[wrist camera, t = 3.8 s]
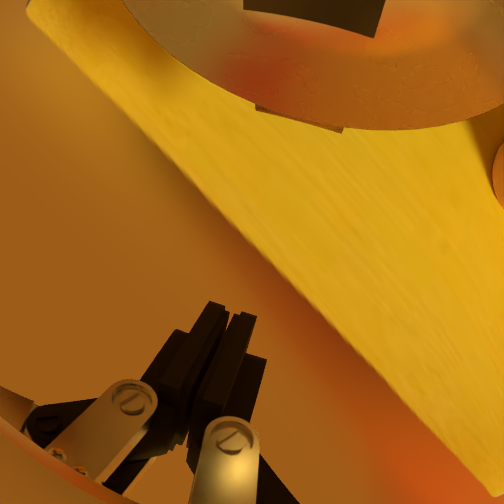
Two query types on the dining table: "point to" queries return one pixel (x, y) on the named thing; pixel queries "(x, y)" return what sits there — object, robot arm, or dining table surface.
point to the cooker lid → (341, 56)
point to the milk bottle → (499, 175)
